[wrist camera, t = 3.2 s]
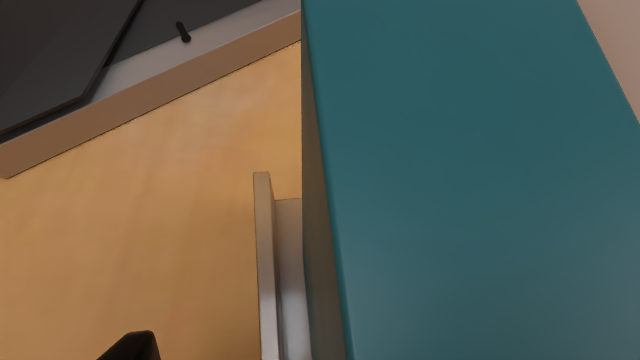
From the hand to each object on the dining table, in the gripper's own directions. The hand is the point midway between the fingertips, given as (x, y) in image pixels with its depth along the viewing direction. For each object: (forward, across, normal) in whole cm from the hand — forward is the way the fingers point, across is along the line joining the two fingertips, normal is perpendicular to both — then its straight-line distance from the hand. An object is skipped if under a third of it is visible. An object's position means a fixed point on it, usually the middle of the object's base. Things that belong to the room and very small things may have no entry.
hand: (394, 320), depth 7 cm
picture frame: (+21, +9, -8) cm, 24 cm away
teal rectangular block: (+6, 0, +5) cm, 8 cm away
